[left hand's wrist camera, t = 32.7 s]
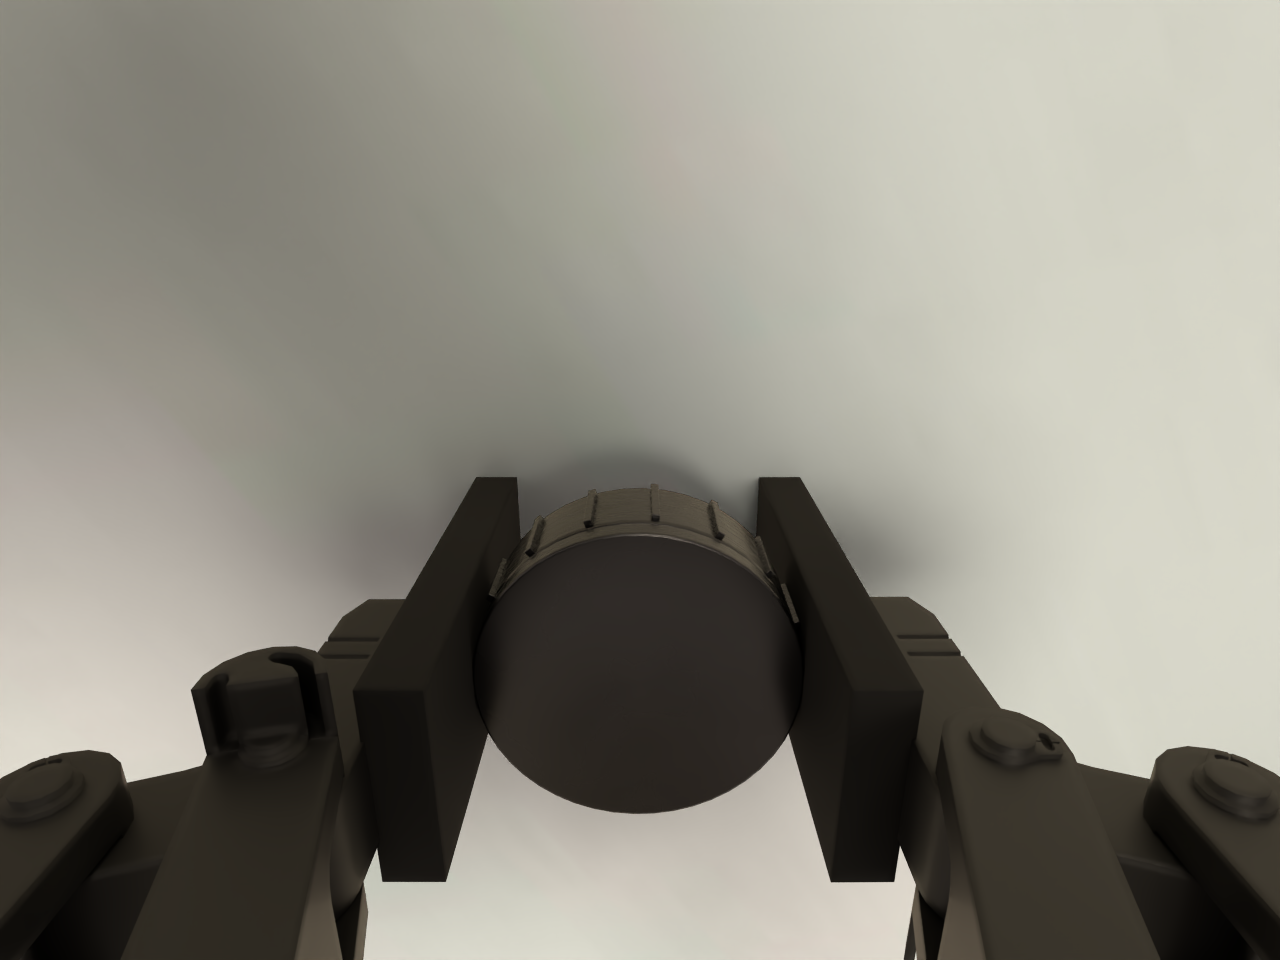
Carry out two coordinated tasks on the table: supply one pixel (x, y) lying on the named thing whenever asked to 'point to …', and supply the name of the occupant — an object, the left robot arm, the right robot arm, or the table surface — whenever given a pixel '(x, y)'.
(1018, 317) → the table surface
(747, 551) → the lid
